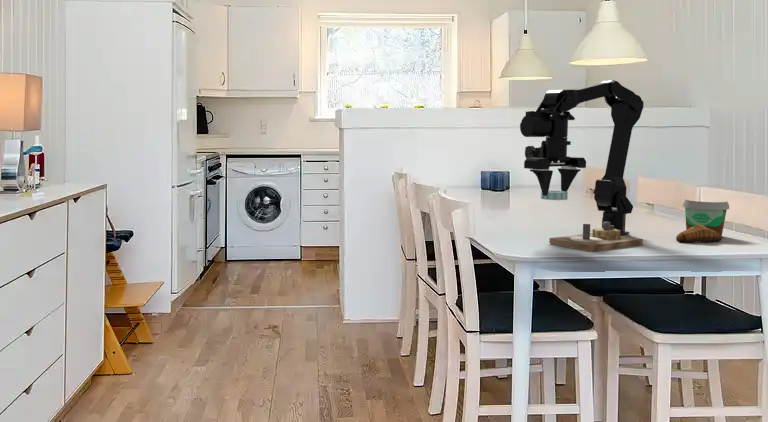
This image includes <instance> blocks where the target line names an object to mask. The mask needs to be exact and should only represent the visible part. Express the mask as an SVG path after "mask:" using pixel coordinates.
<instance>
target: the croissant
mask: <svg viewBox="0 0 768 422" xmlns="http://www.w3.org/2000/svg"><path fill="white" fill-rule="evenodd" d="M722 239H723V234H722V235H721V234H719V233H718V232H716V231H714V230H711V229H709V228H707V227H705V226H703V225H701V224H699V225H696V226H693V227H691V228H689V229H688V230H683V231H680V232H679V233H678V234H677V235H676V238H675V240H676V241H677V242H679V243H708V242H709V243H712V242H719V241H722Z"/></svg>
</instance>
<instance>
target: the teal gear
mask: <svg viewBox="0 0 768 422" xmlns="http://www.w3.org/2000/svg"><path fill="white" fill-rule="evenodd" d="M568 193H569V192H568V190H567V191H561V190H550V189H549V191H548V194H547V196H543V194H542V190H541V192H540V199H541V200H545V201H546V200H548V201H566V200H567V201H568V199H569V198H568V195H569V194H568Z"/></svg>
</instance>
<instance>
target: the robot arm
mask: <svg viewBox="0 0 768 422" xmlns="http://www.w3.org/2000/svg"><path fill="white" fill-rule="evenodd" d="M600 98H604V101H605V103H606V105H608V106H609V107H610V116H611V119H612V123H613V132H612V136H611V141H610V147H609V152H608V157H607V163H606V168H605V174H604V175H603V177H602V178H600V179H598V178H597V179H596V181H595V182H594V183H595V185H594V190H593V192H592V194H594V197H593V200H594V201H595V203H596V207H597V211H599V212H602V217H601V228H603V222H610V225H614V229H617V230H621V232H620V236H623V235H628V234H629V235H630V231H626V220H627V219H626V218H627V217H626V216H627V214H632V212H633V209H634V205H633V204H632V202H631V201H630V199H629V198H628V197H627V186H626V183H625V179H624V175H625V174H624V173H625V169H626V163H627V158H628V153H629V147H630V141H631V138H632V131H633V127H634V126H635V125H636V124H637V122H638V121H639V120H640V119H641V117H642V116H641V115H642V112H643V109H644V100H643V99H642V98H641V96H640V95H639V94H636V93H635V92H634V91H632V90H631V89H629V88H628V87H625V86H624V85H622V84H621V83H620V82H619V81H617V80H615V79H614V80H613V79H612V80H603V81H601V82H598V83H594V84H590V85H589V84H588V85H584V86H582V87H578V88H573V89H550V90H547V91H546V92H545V93H544V97H543V98H542V100H541V102H540V104H539V105H538V107H537V109H536V110H535V111H534V110H525V115H524V116H523V117H522V119H521V121H520V123H519V130H520V134H521V135H522V136H523V137H526V138H545V140H542V141H541V142H540V144H541V145H540V146H539V147H535V146H534V145H527V146H525V149H524V157H525V160H524V162H523V169H527V170H529V171H530V172H532V173H533V174H534V175H535V176H536V178H537V180H538V183H539V186H540V190H541V191H542V194H543V196H547V194H548V191H549V190H550V185H551V180H552V176H553V173H554V170H552V169H550V168H551V167H557V171H558V172H559V174H560V191H567V192H568V190H569V189H570V187H571V185H572V183H573V181H574V179H576V176H577V175H578V174H579V172H580V171H581V169H586V168H587V160H586V159H585V157H580V156H579V157H578V156H568V155H567V154H568V146H571V145H572V144H571V143H572V141H570V140H568V137H569V136H568V132H569V121H574V120H576V118H575V116H574V115H573V114H572V113H571V112H570V110H573V109H574V108H576V107H578V105H580V104H581V103H585V102H588V101H592V100H593V101H594V100H596V99H600ZM558 167H560V168H558Z"/></svg>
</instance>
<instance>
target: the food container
mask: <svg viewBox="0 0 768 422" xmlns="http://www.w3.org/2000/svg"><path fill="white" fill-rule="evenodd" d="M682 207H683V208H684V213H685V229H686V230H688V229H689V228H691V227H693V226H696V225H699V224H701V225H703V226H705V227H707V228H709V229H711V230H714V231H716V232H718V233H719V234H721V235H722V236H723V231H724V228H725V227H724V226H725V220H726V216H727V210H730V204H729V201H728V200H727V201H698V200H697V201H696V200H688V199H684V201H683V203H682Z"/></svg>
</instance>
